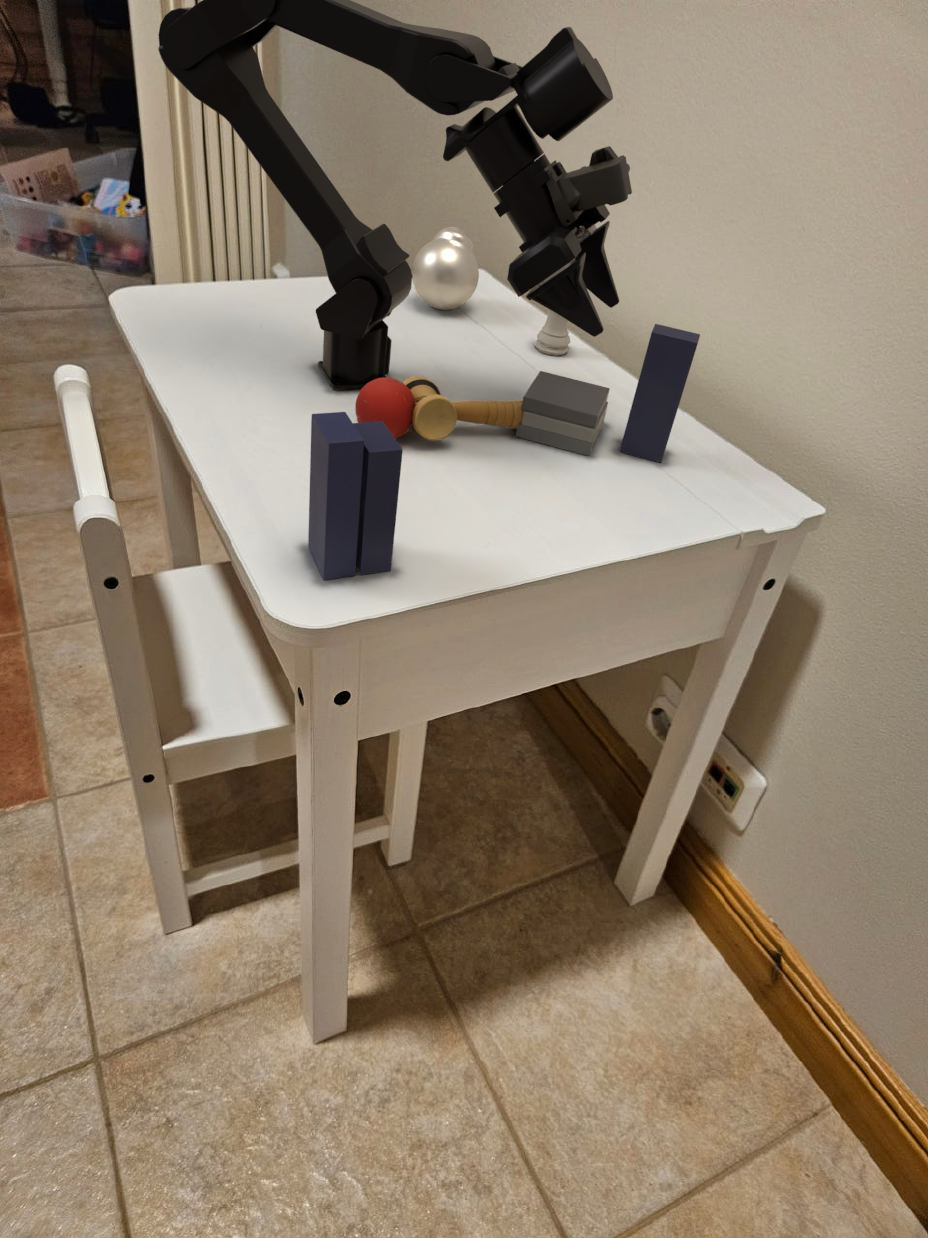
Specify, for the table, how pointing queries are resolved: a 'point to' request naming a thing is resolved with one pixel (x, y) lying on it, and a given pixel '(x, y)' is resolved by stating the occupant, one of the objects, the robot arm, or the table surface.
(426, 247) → the baroque pearl
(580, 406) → the grey books
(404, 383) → the kendama
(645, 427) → the navy book
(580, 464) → the table surface
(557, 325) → the rook chess piece
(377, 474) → the navy books
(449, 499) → the table surface
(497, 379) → the table surface
